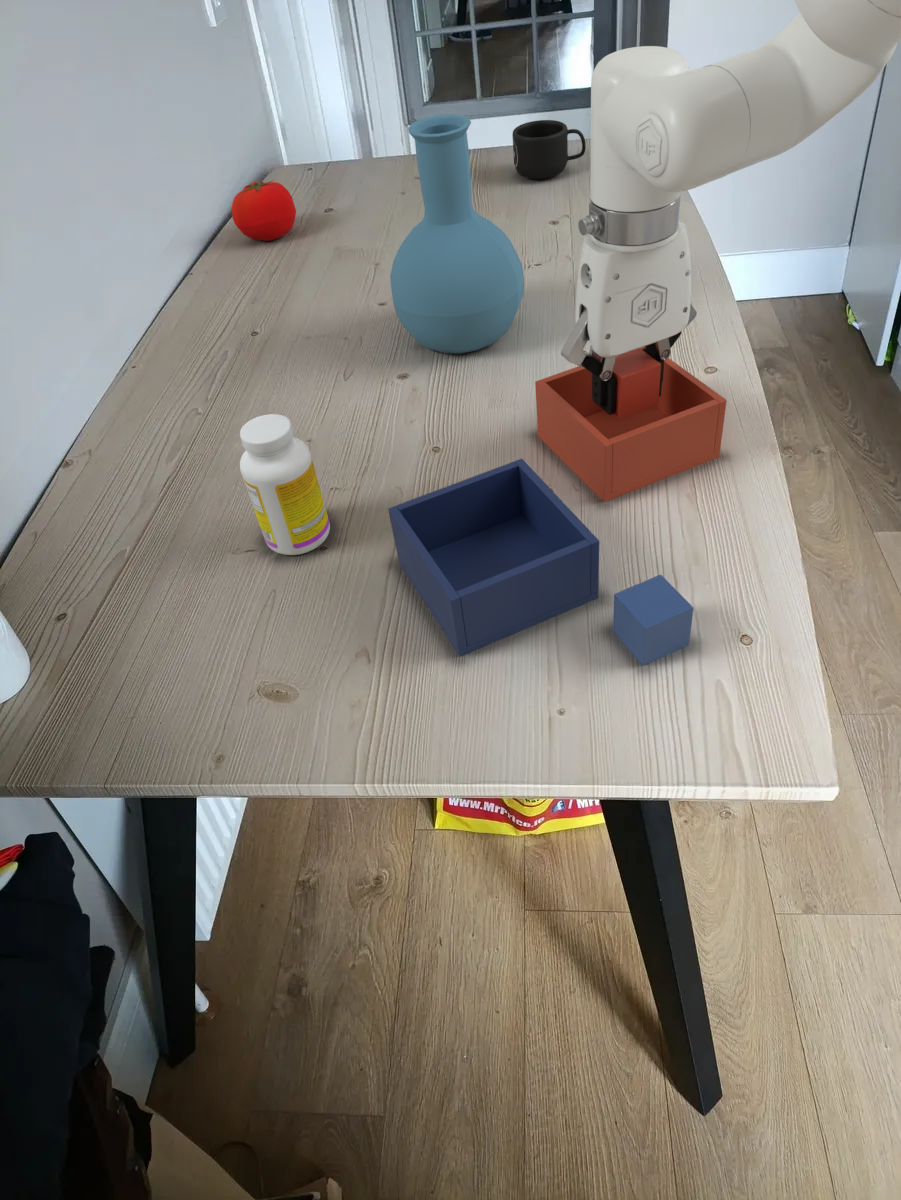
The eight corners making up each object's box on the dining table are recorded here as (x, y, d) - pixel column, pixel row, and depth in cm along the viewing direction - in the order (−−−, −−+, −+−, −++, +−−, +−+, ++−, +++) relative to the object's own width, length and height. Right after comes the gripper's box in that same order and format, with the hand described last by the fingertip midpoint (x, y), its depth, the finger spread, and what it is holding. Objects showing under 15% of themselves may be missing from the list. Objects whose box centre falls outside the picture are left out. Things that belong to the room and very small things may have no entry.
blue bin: (525, 514, 86) (521, 458, 82) (598, 598, 77) (599, 540, 72) (399, 563, 83) (387, 508, 79) (459, 657, 74) (451, 601, 69)
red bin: (643, 396, 99) (646, 341, 94) (719, 457, 89) (726, 399, 85) (537, 436, 96) (534, 381, 91) (604, 502, 86) (605, 445, 82)
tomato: (312, 231, 142) (300, 178, 136) (259, 255, 138) (245, 200, 132) (280, 219, 148) (267, 166, 142) (228, 241, 143) (213, 188, 137)
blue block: (657, 611, 75) (660, 574, 72) (689, 645, 72) (693, 607, 69) (612, 631, 74) (613, 593, 71) (642, 666, 71) (645, 628, 68)
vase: (375, 357, 111) (335, 148, 94) (434, 297, 121) (407, 97, 104) (494, 376, 105) (475, 155, 87) (545, 311, 115) (538, 101, 97)
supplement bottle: (340, 517, 89) (312, 409, 80) (318, 561, 85) (286, 452, 76) (280, 512, 91) (246, 405, 82) (255, 555, 87) (216, 447, 78)
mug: (515, 186, 146) (513, 141, 141) (513, 167, 153) (511, 122, 148) (588, 179, 145) (588, 132, 140) (583, 159, 152) (583, 114, 147)
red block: (633, 383, 91) (635, 344, 87) (658, 403, 88) (661, 363, 84) (595, 397, 90) (596, 358, 86) (619, 418, 87) (621, 378, 83)
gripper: (571, 259, 71) (573, 445, 84) (743, 204, 75) (720, 390, 88) (527, 229, 76) (535, 408, 89) (690, 179, 80) (675, 358, 93)
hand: (627, 397), depth 88 cm, fingers closed on red block, 4 cm apart
